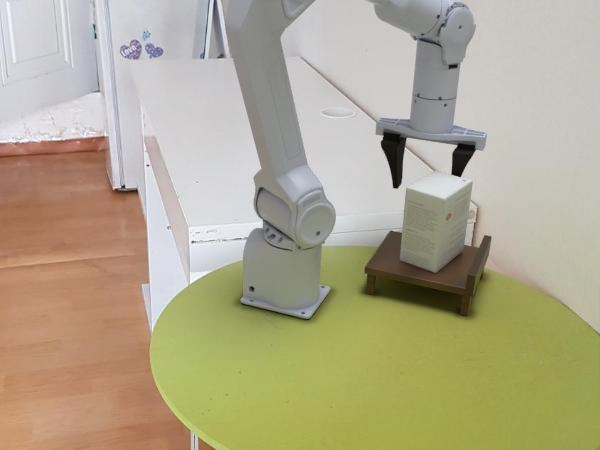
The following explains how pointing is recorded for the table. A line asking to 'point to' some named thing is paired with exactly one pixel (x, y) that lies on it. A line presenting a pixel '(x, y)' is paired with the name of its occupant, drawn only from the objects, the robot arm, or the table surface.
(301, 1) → the robot arm
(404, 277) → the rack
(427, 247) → the small box
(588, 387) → the table surface
